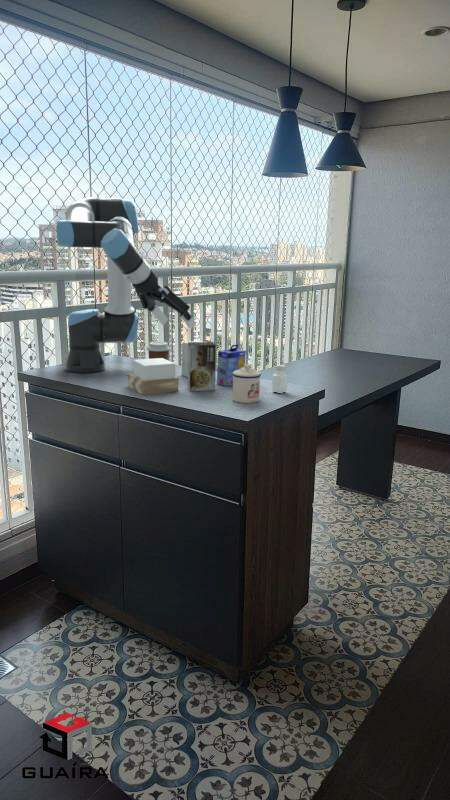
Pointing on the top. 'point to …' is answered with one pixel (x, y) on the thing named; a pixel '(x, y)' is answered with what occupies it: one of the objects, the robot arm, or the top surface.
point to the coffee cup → (158, 350)
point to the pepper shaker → (279, 380)
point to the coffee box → (201, 366)
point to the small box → (185, 358)
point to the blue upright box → (229, 364)
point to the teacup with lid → (246, 385)
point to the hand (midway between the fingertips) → (178, 324)
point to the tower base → (152, 385)
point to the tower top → (153, 369)
